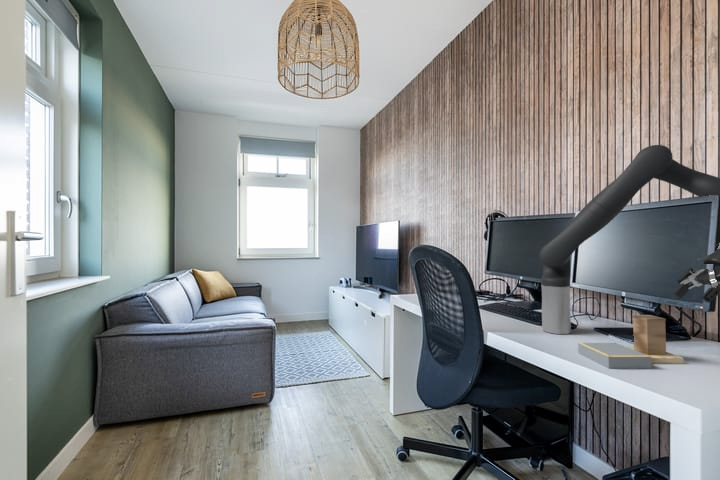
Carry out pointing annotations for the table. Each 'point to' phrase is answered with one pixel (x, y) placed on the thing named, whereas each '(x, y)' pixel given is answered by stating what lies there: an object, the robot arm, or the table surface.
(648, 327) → the wooden block
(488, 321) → the table surface
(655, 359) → the pallet
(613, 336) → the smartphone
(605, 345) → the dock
